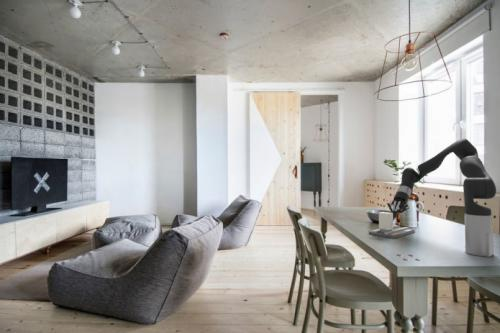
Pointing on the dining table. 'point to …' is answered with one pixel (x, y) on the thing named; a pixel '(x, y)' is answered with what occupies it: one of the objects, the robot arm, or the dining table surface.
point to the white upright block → (385, 221)
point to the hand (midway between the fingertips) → (392, 217)
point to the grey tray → (393, 232)
